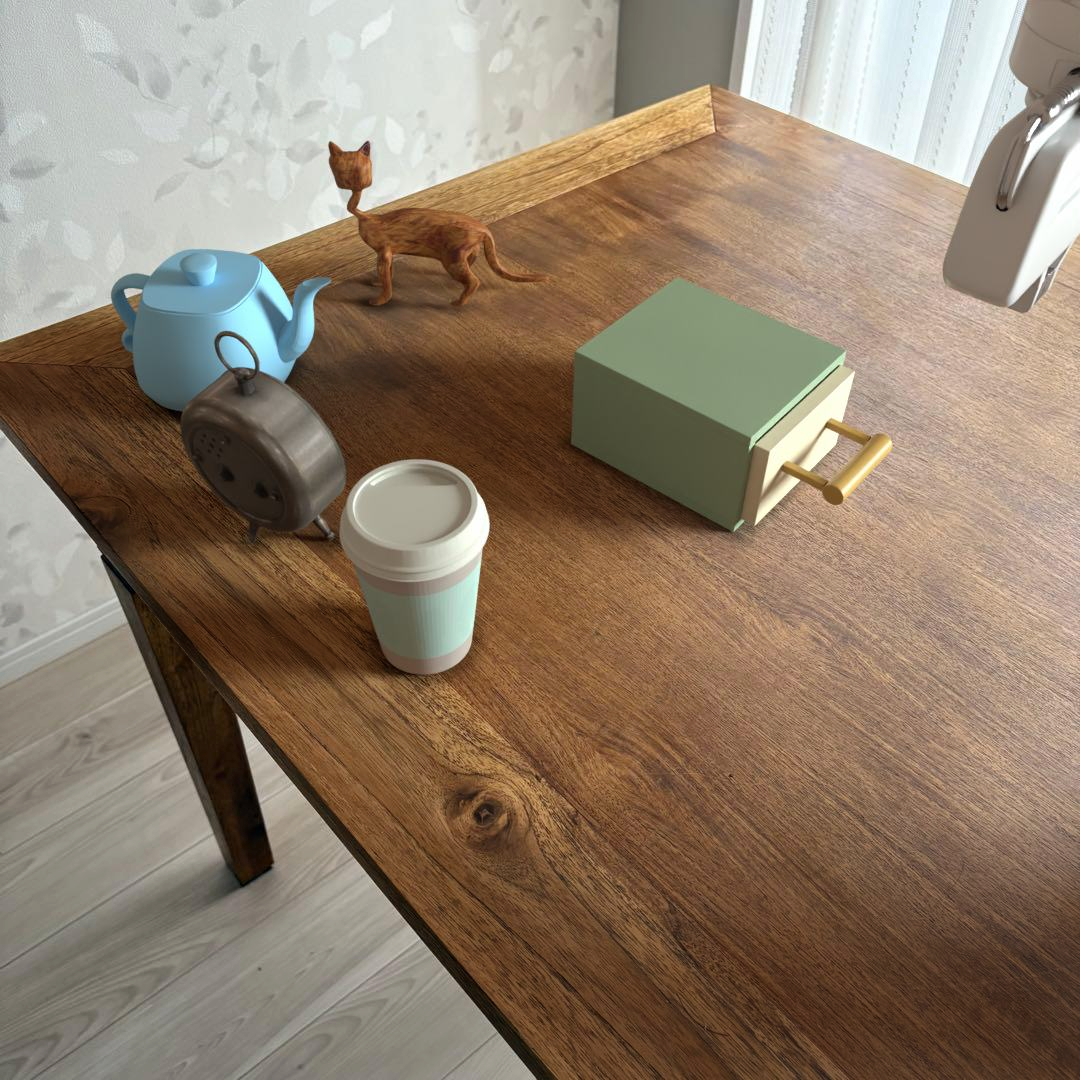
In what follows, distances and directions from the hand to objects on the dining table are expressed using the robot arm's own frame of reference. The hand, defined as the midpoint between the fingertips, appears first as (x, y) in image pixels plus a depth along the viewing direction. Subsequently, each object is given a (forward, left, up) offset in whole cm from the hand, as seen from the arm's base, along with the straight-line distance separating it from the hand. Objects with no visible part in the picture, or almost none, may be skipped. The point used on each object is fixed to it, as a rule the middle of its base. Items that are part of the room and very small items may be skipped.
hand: (1022, 298), depth 61 cm
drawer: (+12, -8, -20) cm, 25 cm away
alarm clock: (+45, +4, -21) cm, 50 cm away
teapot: (+53, -12, -21) cm, 58 cm away
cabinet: (+16, -10, -21) cm, 28 cm away
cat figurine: (+39, -27, -21) cm, 52 cm away
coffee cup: (+32, +12, -21) cm, 40 cm away
